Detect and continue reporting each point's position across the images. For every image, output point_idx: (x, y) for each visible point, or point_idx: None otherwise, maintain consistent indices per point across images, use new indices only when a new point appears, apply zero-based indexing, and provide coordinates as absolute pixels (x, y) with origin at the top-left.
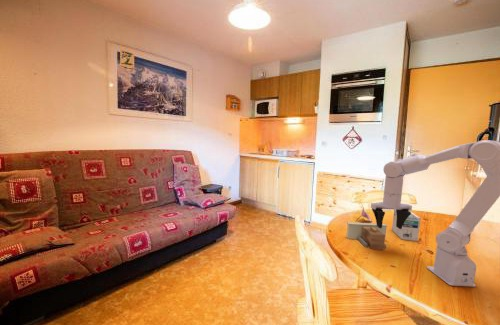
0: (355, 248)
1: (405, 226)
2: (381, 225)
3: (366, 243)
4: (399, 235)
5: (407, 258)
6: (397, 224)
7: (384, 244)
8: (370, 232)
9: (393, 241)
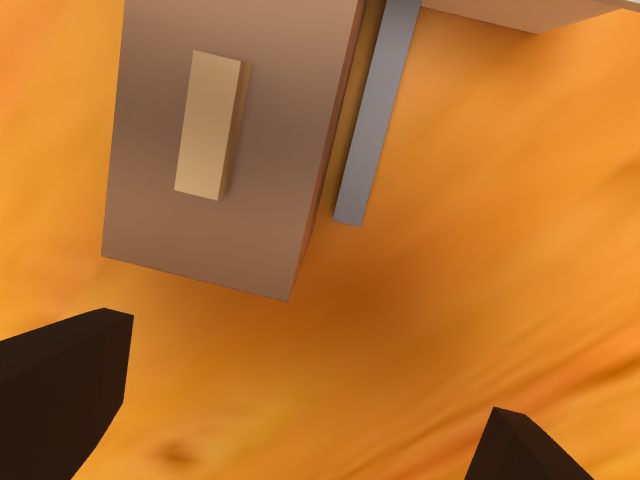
0: (24, 170)
1: None
2: (77, 450)
3: None
4: None
5: (401, 405)
6: (502, 468)
7: (353, 210)
8: (120, 184)
9: (619, 86)
